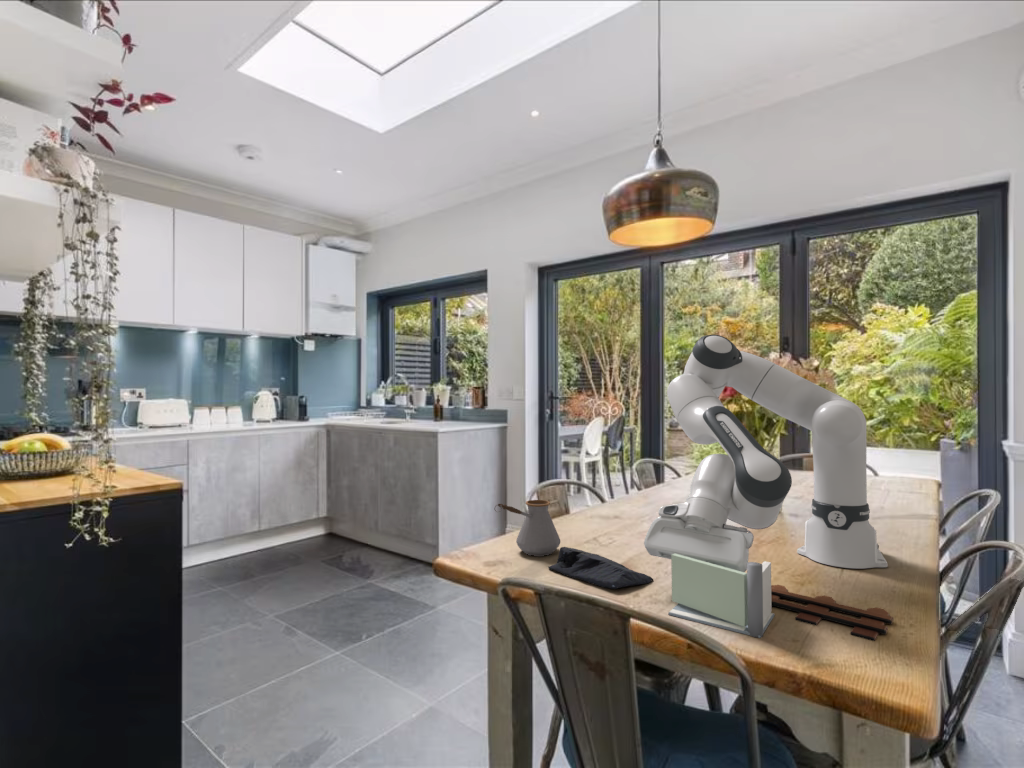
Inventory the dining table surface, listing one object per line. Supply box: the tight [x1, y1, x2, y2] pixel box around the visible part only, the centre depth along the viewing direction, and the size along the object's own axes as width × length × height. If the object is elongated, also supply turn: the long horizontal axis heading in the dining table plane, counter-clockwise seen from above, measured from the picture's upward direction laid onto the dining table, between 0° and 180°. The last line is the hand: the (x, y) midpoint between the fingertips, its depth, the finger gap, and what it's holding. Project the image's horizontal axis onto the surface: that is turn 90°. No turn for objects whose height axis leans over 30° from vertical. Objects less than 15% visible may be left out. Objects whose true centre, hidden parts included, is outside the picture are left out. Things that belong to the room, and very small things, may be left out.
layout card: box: [668, 603, 775, 639], centre depth 101 cm, size 11×16×1 cm
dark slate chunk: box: [548, 546, 654, 590], centre depth 124 cm, size 15×22×5 cm
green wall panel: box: [670, 554, 748, 627], centre depth 100 cm, size 15×1×9 cm, turn 38°
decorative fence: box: [771, 584, 895, 642], centre depth 103 cm, size 23×2×15 cm
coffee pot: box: [494, 499, 561, 557], centre depth 137 cm, size 21×12×15 cm, turn 139°
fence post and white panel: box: [746, 560, 772, 638], centre depth 96 cm, size 11×2×12 cm, turn 143°
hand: (685, 581), depth 106 cm, fingers closed
